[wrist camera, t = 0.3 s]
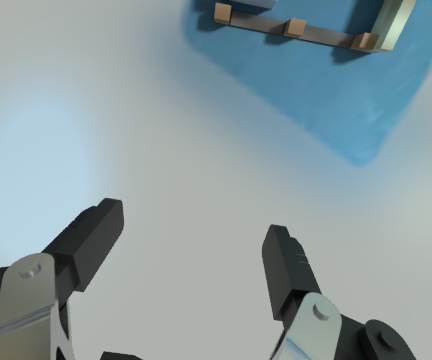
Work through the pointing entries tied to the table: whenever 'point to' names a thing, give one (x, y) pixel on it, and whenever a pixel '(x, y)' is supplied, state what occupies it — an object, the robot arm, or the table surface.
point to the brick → (258, 3)
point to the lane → (367, 42)
